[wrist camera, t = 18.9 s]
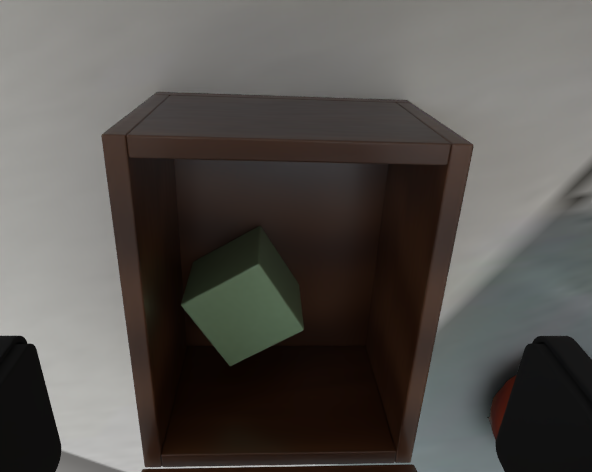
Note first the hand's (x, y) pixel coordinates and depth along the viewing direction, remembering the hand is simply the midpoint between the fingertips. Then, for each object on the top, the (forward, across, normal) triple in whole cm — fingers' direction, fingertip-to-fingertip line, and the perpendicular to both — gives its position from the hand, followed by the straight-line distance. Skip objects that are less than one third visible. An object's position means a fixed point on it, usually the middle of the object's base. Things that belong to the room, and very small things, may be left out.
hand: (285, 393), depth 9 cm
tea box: (+14, 0, +6) cm, 16 cm away
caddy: (+18, 0, +6) cm, 18 cm away
